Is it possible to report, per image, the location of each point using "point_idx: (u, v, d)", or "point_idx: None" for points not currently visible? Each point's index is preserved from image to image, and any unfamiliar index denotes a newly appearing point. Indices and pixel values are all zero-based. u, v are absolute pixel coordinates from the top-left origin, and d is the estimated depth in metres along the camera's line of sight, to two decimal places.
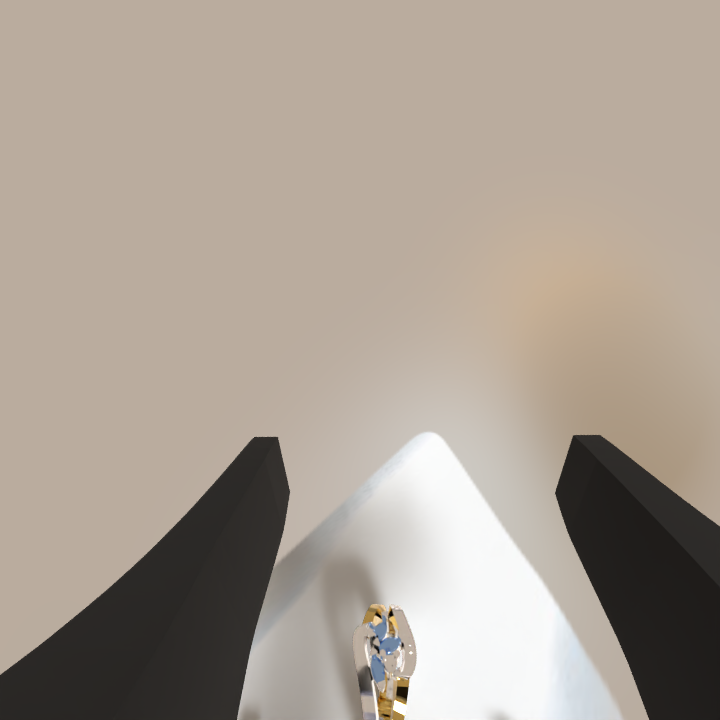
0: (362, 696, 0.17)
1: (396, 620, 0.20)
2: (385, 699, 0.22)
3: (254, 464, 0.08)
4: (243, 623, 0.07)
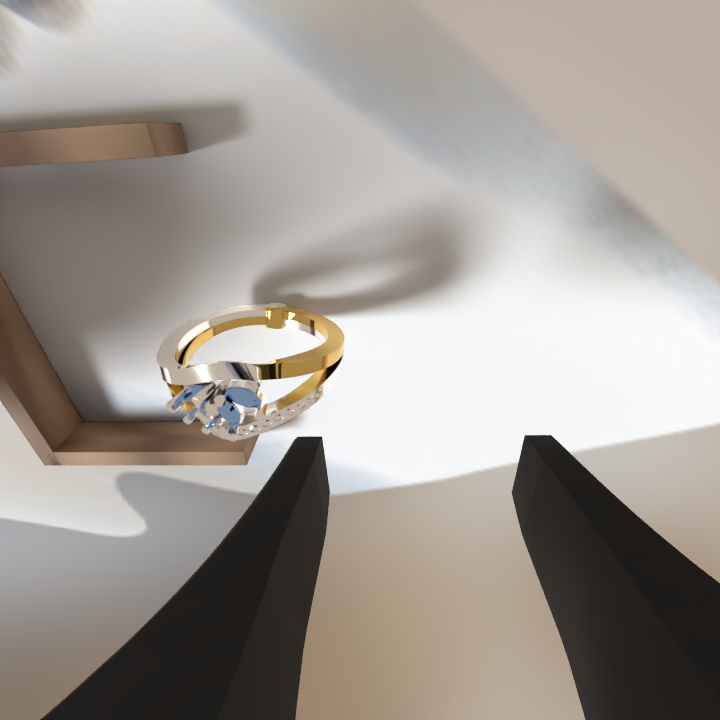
0: (168, 370, 0.12)
1: (272, 414, 0.13)
2: (280, 320, 0.18)
3: (303, 464, 0.08)
4: (298, 625, 0.07)
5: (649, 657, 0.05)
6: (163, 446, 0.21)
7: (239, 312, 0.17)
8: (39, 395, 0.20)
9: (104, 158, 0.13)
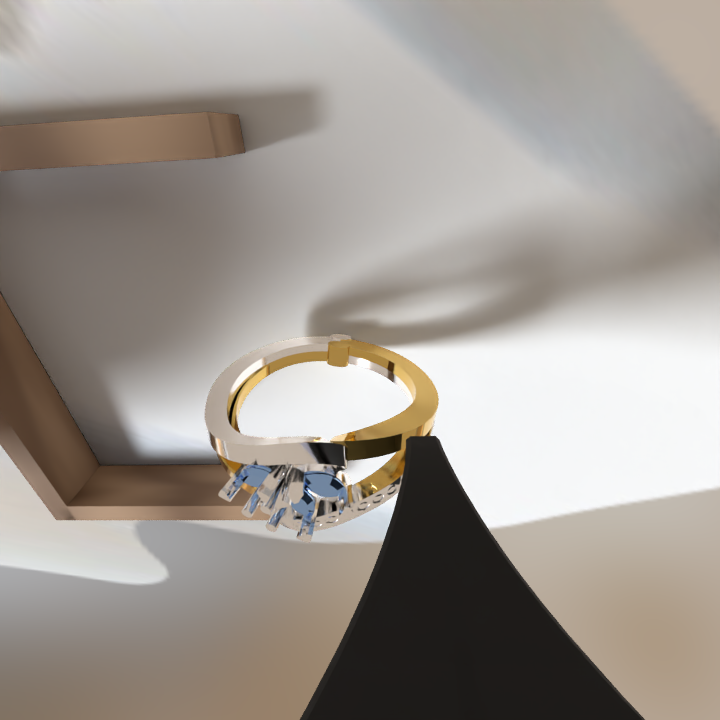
0: (223, 442, 0.09)
1: (356, 503, 0.10)
2: (345, 356, 0.14)
3: (432, 463, 0.08)
4: None
5: None
6: (198, 498, 0.18)
7: (297, 347, 0.14)
8: (51, 441, 0.17)
9: (148, 159, 0.10)
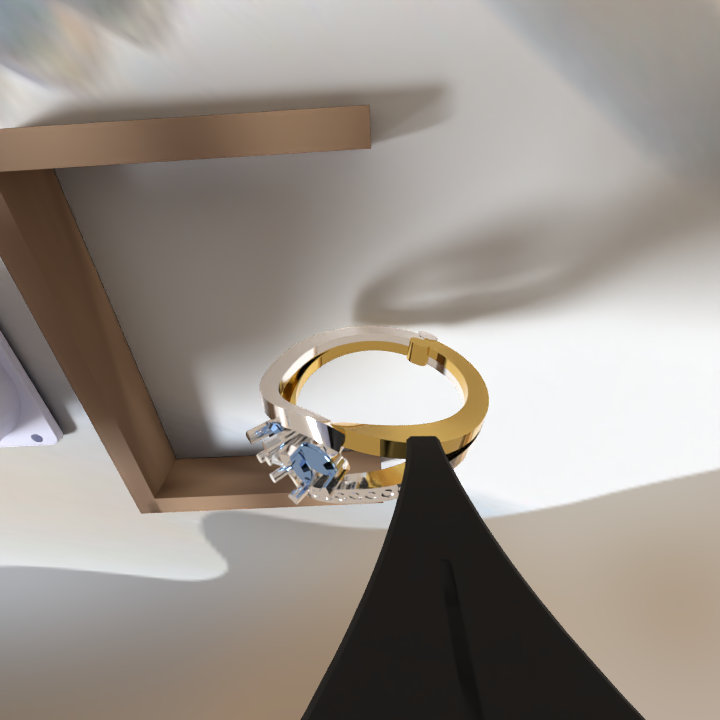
0: (261, 395, 0.11)
1: (348, 490, 0.10)
2: (424, 356, 0.14)
3: (432, 463, 0.08)
4: None
5: None
6: (285, 485, 0.18)
7: (380, 334, 0.15)
8: (142, 433, 0.17)
9: (305, 150, 0.10)
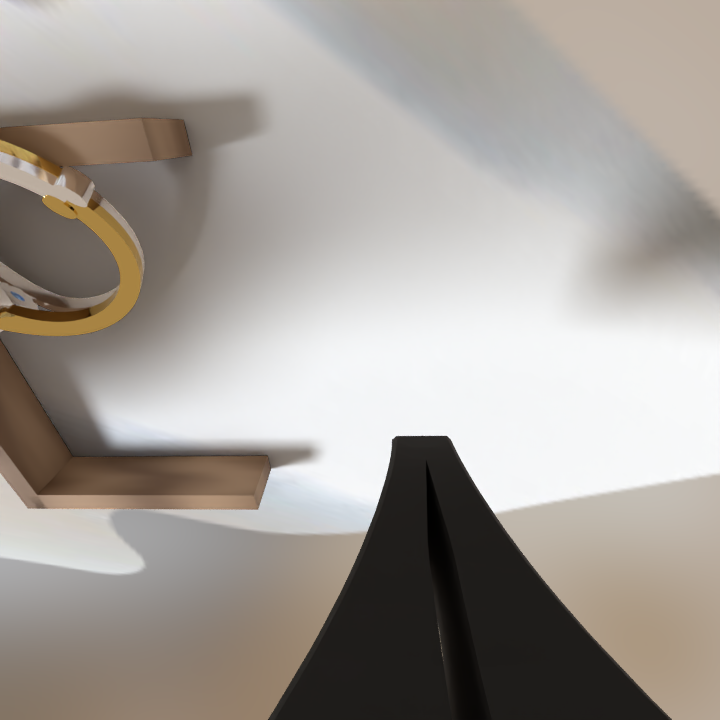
0: None
1: None
2: None
3: (416, 464, 0.08)
4: None
5: (464, 651, 0.05)
6: (163, 488, 0.18)
7: None
8: (21, 431, 0.18)
9: (90, 162, 0.11)
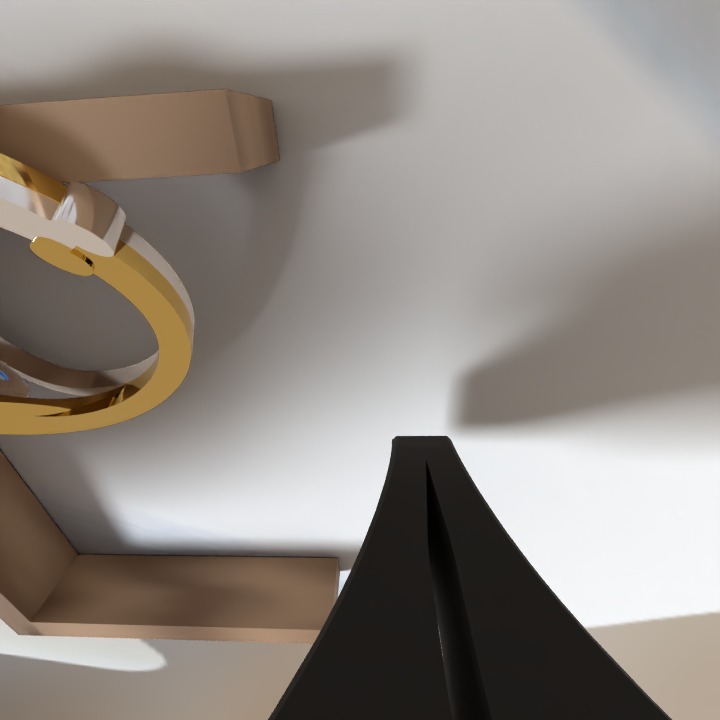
0: None
1: None
2: None
3: (416, 464, 0.08)
4: None
5: (464, 650, 0.05)
6: (202, 613, 0.13)
7: None
8: (7, 541, 0.13)
9: (120, 175, 0.06)
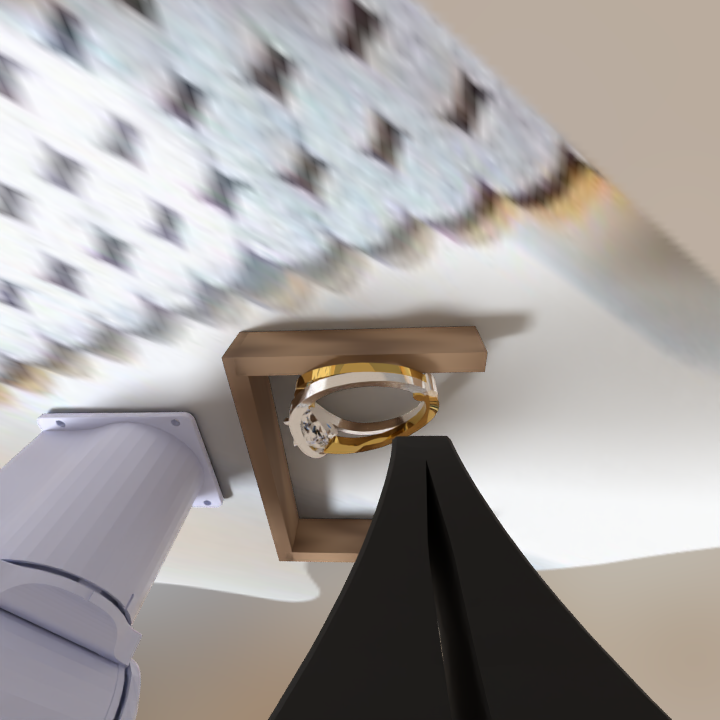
0: None
1: None
2: None
3: (415, 463, 0.08)
4: None
5: (464, 650, 0.05)
6: None
7: None
8: (288, 507, 0.24)
9: (443, 371, 0.17)
